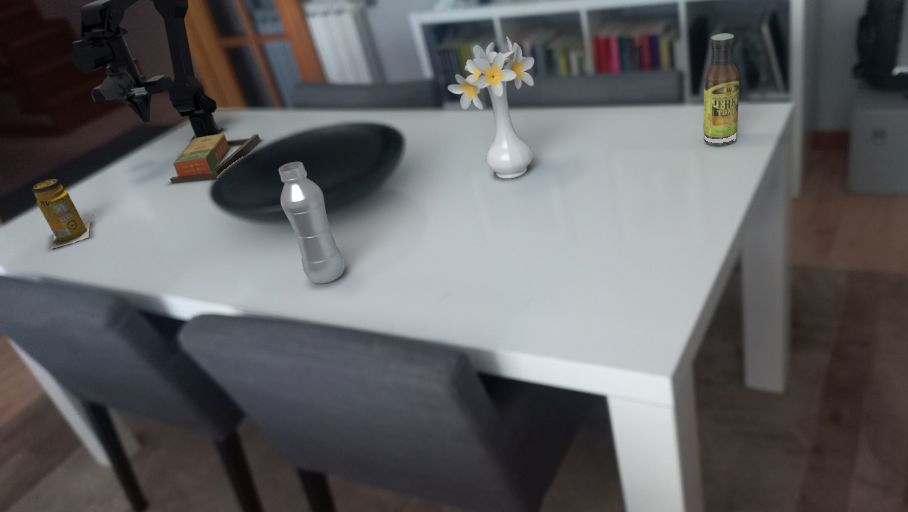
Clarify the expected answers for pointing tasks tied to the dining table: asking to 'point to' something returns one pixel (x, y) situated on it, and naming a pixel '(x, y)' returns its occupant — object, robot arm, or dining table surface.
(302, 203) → the plastic bottle
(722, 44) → the sauce bottle
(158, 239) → the dining table surface
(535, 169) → the dining table surface
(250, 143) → the frame
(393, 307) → the dining table surface
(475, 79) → the flower vase
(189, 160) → the carton
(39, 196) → the condiment
